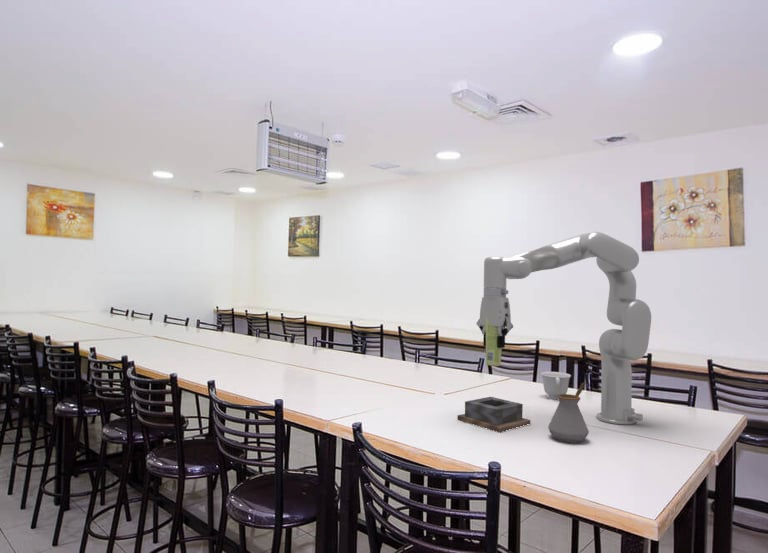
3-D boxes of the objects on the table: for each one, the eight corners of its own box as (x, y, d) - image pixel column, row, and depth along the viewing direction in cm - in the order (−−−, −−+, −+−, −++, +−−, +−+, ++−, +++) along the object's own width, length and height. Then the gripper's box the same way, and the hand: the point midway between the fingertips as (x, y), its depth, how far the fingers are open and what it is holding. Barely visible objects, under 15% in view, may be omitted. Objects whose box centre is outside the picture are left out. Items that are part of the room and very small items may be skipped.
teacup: (542, 401, 196) (542, 376, 196) (539, 394, 210) (539, 370, 210) (573, 404, 193) (574, 378, 193) (568, 396, 207) (569, 372, 208)
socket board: (530, 424, 162) (530, 404, 162) (499, 432, 152) (500, 411, 152) (487, 413, 176) (488, 395, 177) (457, 419, 166) (457, 400, 167)
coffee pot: (581, 447, 139) (582, 395, 140) (542, 439, 146) (542, 389, 147) (603, 431, 156) (603, 384, 156) (566, 424, 163) (567, 379, 163)
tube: (495, 363, 169) (496, 307, 169) (505, 365, 164) (506, 308, 164) (482, 364, 166) (483, 307, 166) (492, 366, 161) (493, 308, 162)
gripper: (522, 294, 161) (521, 349, 161) (482, 292, 174) (481, 343, 174) (508, 293, 156) (507, 350, 156) (468, 292, 170) (467, 344, 169)
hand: (493, 346), depth 165 cm, fingers closed on tube, 5 cm apart
